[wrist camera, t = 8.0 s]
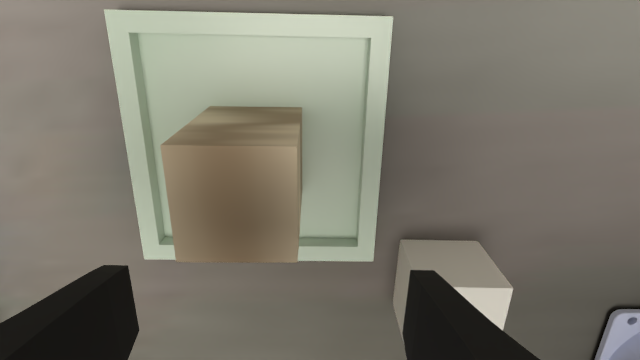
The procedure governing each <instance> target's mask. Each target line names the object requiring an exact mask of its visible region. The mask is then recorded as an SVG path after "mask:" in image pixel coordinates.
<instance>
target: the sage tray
mask: <svg viewBox="0 0 640 360" xmlns="http://www.w3.org/2000/svg"><path fill="white" fill-rule="evenodd" d="M104 13H105V19H106V25H107V31H108V38H109V44H110V50H111V56H112V62H113V69H114V75H115V81H116V87H117V93H118V100H119V106H120V112H121V118H122V124H123V130H124V137H125V143H126V149H127V155H128V161H129V168H130V174H131V180H132V186H133V192H134V199H135V205H136V211H137V217H138V223H139V230H140V236H141V242H142V248H143V254H144V259H167V260H176V258H175V250H174V243H173V235H172V228H171V221H170V213H169V206H168V198H167V191H166V184H165V176H164V169H163V161H162V154H161V147H160V145H161V144H162V143H164V142H165V141H166V140H168V139H169V138H170V137H171V136H173V135H174V134H175V133H176V132H178V131H179V130H180V129H181V128H183V127H184V126H185V125H187V124H188V123H189V122H190V121H192V120H193V119H194V118H195V117H197V116H198V115H199V114H200V113H202V112H203V111H204V110H206V109H207V108H208V107H209V106H241V107H302V203H301V219H300V234H299V249H298V261H373V259H374V247H375V234H376V222H377V210H378V198H379V185H380V173H381V161H382V149H383V137H384V124H385V112H386V100H387V88H388V75H389V63H390V51H391V39H392V27H393V16H355V15H313V14H271V13H228V12H186V11H144V10H104Z"/></svg>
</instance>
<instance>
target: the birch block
mask: <svg viewBox="0 0 640 360" xmlns="http://www.w3.org/2000/svg"><path fill="white" fill-rule="evenodd" d="M160 147H161V154H162V161H163V169H164V176H165V184H166V191H167V198H168V206H169V213H170V221H171V228H172V235H173V243H174V250H175V258H176V262H259V263H298V249H299V234H300V219H301V203H302V107H241V106H209V107H208V108H207V109H206V110H204V111H203V112H202V113H200V114H199V115H198V116H197V117H195V118H194V119H193V120H192V121H190V122H189V123H188V124H187V125H185V126H184V127H183V128H181V129H180V130H179V131H178V132H176V133H175V134H174V135H173V136H171V137H170V138H169V139H168V140H166V141H165V142H164V143H162V144H161V145H160Z"/></svg>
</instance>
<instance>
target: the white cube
mask: <svg viewBox="0 0 640 360" xmlns="http://www.w3.org/2000/svg"><path fill="white" fill-rule="evenodd" d="M410 270H434V271H435V272H437V273H438V274H439V275H440V276H441V277H442V278H443V279H445V280H446V281H447V282H448V283H449V284H450V285H451V286H452V287H453V288H454V289H455V290H457V291H458V292H459V293H460V294H461V295H462V296H463V297H464V298H465V299H466V300H468V301H469V302H470V303H471V304H472V305H473V306H474V307H475V308H477V309H478V310H479V311H480V312H481V313H482V314H483V315H485V316H486V317H487V318H488V319H489V320H490V321H492V322H493V323H494V324H495V325H496V326H498V327H499V328H500V329H501V330H502V331H503V328H504V324H505V320H506V316H507V312H508V308H509V304H510V300H511V296H512V292H513V287H512V286H511V284H510V283H509V282H508V281H507V279H506V278H505V277H504V275H503V274H502V273H501V271H500V270H499V269H498V267H497V266H496V265H495V263H494V262H493V261H492V259H491V258H490V257H489V255H488V254H487V253H486V251H485V250H484V249H483V247H482V246H481V245H480V243H479V242H478V241H452V240H402V239H400V246H399V254H398V262H397V271H396V279H395V287H394V296H393V307H394V311H395V314H396V318H397V321H398V325H399V328H400V332H401V336H402V339H403V334H402V332H403V324H404V316H405V308H406V300H407V292H408V284H409V276H410ZM403 343H404V340H403ZM404 346H405V345H404Z"/></svg>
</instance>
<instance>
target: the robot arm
mask: <svg viewBox="0 0 640 360" xmlns="http://www.w3.org/2000/svg"><path fill="white" fill-rule="evenodd" d="M138 332H139V326H138V321H137V315H136V309H135V303H134V298H133V292H132V286H131V280H130V275H129V269H128V266H118V265H103V266H101V267H99V268H97V269H95V270H93V271H91V272H89V273H88V274H86V275H84V276H82V277H80V278H79V279H77V280H75V281H73V282H72V283H70V284H68V285H67V286H65V287H63V288H61V289H60V290H58V291H56V292H55V293H53V294H51V295H49V296H48V297H46V298H44V299H43V300H41V301H39V302H37V303H36V304H34V305H32V306H31V307H29V308H27V309H25V310H24V311H22V312H20V313H18V314H17V315H15V316H13V317H11V318H9V319H7V320H6V321H4V322H2V323H0V360H128V357H129V355H130V353H131V350H132V347H133V345H134V342H135V340H136V337H137V335H138ZM402 334H403V340H404V345H405V351H406V356H407V360H540V359H538V358H537V357H536V356H534V355H533V354H532V353H530V352H529V351H528V350H526V349H525V348H524V347H523V346H521V345H520V344H519V343H517V342H516V341H515V340H514V339H512V338H511V337H510V336H509V335H507V334H506V333H505V332H504V331H502V330H501V329H500V328H499V327H498V326H496V325H495V324H494V323H493V322H492V321H490V320H489V319H488V318H487V317H486V316H485V315H483V314H482V313H481V312H480V311H479V310H478V309H477V308H475V307H474V306H473V305H472V304H471V303H470V302H469V301H468V300H466V299H465V298H464V297H463V296H462V295H461V294H460V293H459V292H458V291H457V290H455V289H454V288H453V287H452V286H451V285H450V284H449V283H448V282H447V281H446V280H445V279H443V278H442V277H441V276H440V275H439V274H438V273H437V272H435V271H434V270H410V276H409V284H408V292H407V300H406V308H405V316H404V324H403V332H402ZM595 360H640V309H619V310H616V311H614V312H613V313H611V315H610V317H609V320H608V323H607V326H606V328H605V331H604V334H603V337H602V340H601V343H600V345H599V348H598V351H597V354H596V357H595Z"/></svg>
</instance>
